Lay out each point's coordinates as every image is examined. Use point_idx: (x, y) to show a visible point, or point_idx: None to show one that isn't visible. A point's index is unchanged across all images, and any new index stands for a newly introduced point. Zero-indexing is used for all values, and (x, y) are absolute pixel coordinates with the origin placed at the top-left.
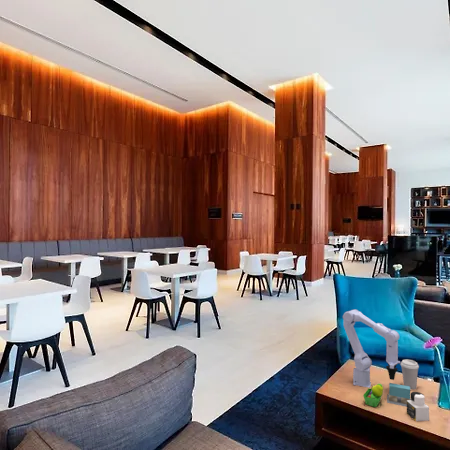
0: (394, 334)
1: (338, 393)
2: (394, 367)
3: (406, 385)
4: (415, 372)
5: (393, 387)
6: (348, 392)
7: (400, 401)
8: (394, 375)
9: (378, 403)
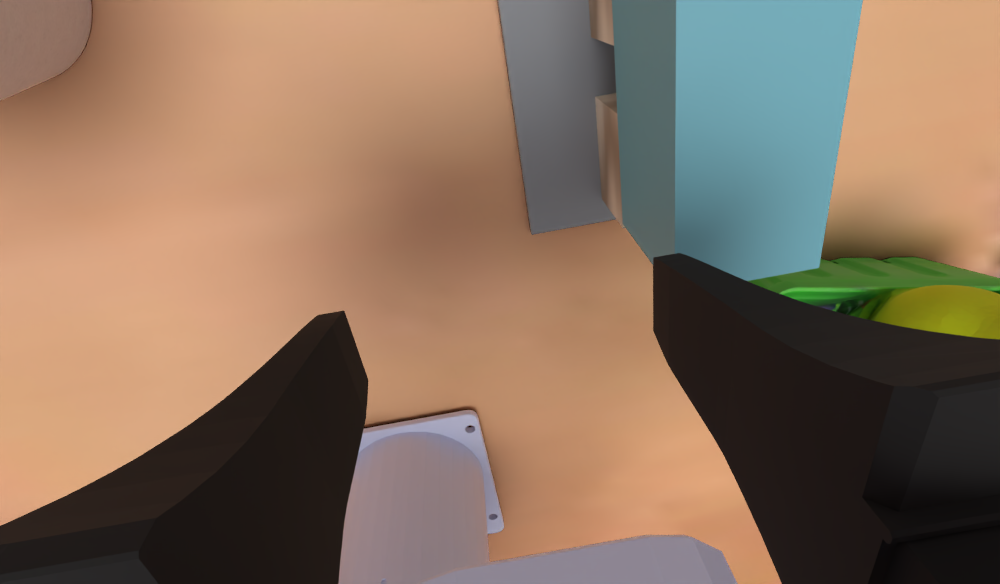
0: None
1: (732, 544)
2: (285, 436)
3: (60, 29)
4: None
5: (818, 190)
6: (676, 506)
7: None
8: (767, 299)
9: (828, 261)
